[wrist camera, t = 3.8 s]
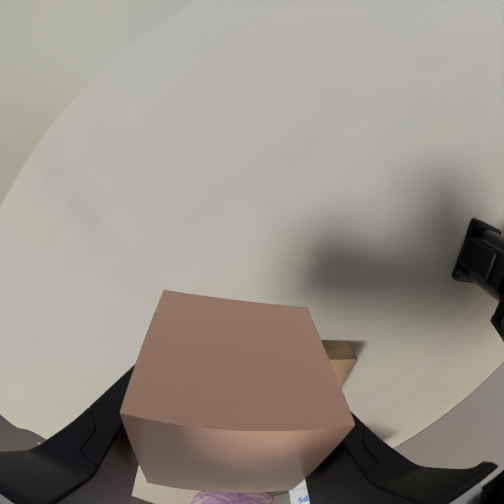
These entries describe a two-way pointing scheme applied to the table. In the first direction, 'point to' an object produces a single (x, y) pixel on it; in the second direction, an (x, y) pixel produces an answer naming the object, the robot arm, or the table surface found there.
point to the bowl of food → (232, 498)
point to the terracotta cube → (232, 396)
